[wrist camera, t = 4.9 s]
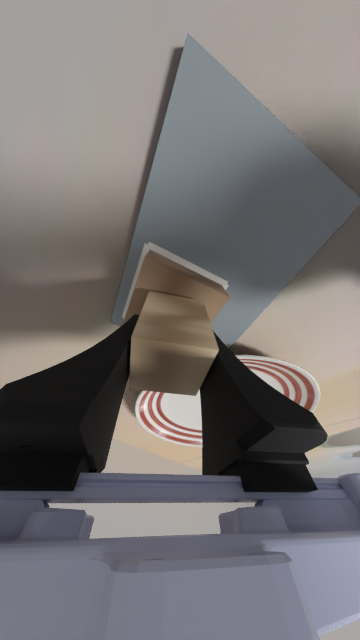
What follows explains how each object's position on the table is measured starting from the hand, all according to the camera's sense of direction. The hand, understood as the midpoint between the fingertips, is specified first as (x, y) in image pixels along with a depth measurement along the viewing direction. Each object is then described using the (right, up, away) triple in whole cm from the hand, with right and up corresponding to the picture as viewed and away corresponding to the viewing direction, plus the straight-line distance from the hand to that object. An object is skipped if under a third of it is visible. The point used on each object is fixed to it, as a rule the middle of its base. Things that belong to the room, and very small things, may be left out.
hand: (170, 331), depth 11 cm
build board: (+3, +5, +3) cm, 7 cm away
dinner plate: (+7, -13, +15) cm, 21 cm away
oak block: (0, +1, +1) cm, 2 cm away
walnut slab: (0, +3, +4) cm, 5 cm away
